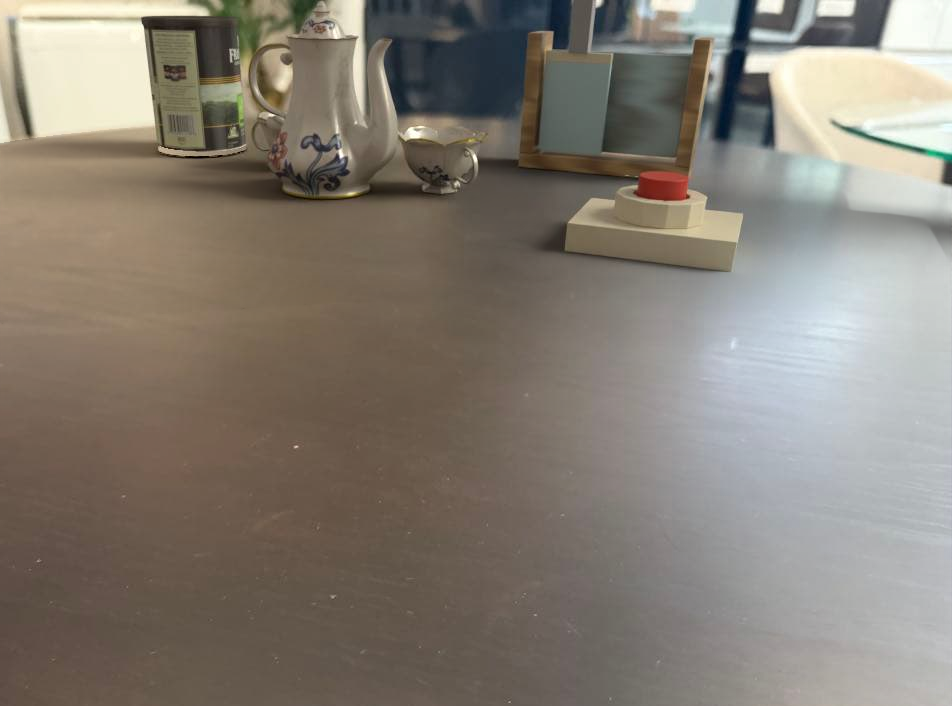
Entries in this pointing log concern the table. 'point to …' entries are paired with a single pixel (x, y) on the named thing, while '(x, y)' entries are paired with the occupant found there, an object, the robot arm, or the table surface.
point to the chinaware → (348, 122)
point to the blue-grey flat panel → (576, 90)
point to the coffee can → (195, 82)
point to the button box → (656, 230)
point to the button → (662, 186)
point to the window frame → (627, 112)
